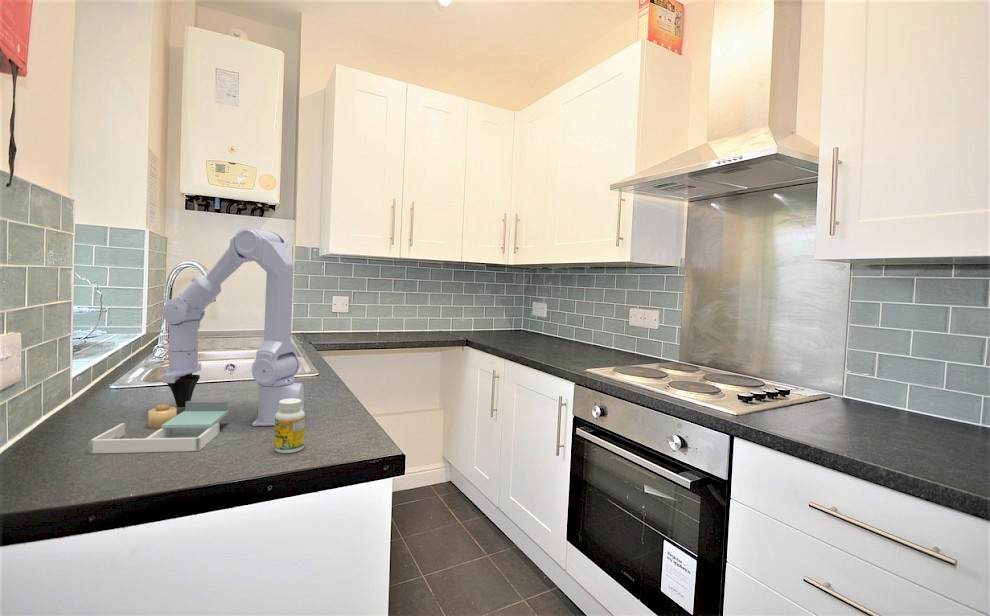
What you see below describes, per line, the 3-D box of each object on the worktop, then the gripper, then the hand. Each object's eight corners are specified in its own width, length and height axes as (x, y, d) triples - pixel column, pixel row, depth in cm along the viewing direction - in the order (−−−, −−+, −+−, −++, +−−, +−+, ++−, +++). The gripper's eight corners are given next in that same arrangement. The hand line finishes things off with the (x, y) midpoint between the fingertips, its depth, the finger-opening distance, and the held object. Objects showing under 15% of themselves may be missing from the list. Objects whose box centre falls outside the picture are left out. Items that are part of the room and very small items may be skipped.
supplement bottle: (310, 447, 91) (311, 400, 91) (286, 456, 87) (287, 406, 86) (292, 442, 94) (293, 395, 93) (268, 449, 89) (269, 401, 89)
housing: (219, 433, 97) (219, 422, 97) (199, 450, 87) (199, 438, 87) (121, 434, 93) (121, 423, 93) (89, 453, 83) (88, 440, 83)
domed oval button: (180, 421, 103) (180, 402, 103) (169, 429, 98) (170, 408, 98) (155, 422, 102) (155, 402, 102) (143, 429, 97) (143, 408, 97)
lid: (229, 412, 103) (229, 400, 103) (210, 427, 93) (210, 414, 92) (185, 412, 101) (185, 401, 101) (161, 428, 91) (161, 415, 91)
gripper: (179, 344, 115) (178, 398, 115) (147, 354, 100) (147, 415, 101) (210, 345, 116) (209, 398, 117) (183, 355, 102) (183, 415, 103)
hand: (183, 406), depth 109 cm, fingers closed
